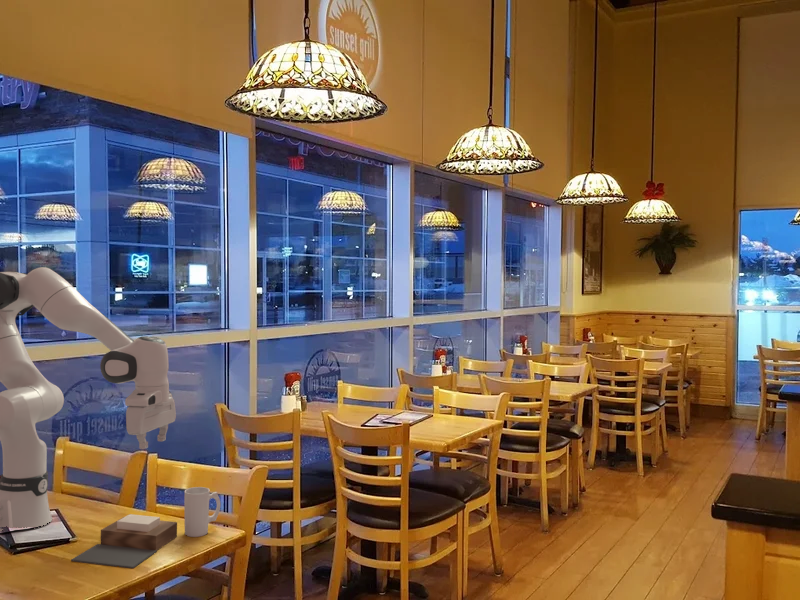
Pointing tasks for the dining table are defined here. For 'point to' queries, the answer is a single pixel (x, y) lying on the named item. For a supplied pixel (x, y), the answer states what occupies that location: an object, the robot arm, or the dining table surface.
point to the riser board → (139, 536)
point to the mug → (199, 510)
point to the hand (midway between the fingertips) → (152, 444)
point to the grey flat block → (138, 523)
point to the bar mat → (114, 556)
